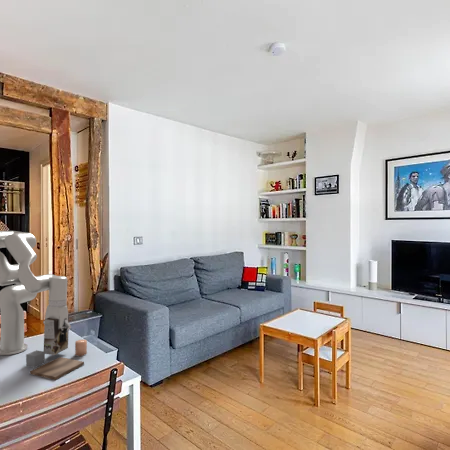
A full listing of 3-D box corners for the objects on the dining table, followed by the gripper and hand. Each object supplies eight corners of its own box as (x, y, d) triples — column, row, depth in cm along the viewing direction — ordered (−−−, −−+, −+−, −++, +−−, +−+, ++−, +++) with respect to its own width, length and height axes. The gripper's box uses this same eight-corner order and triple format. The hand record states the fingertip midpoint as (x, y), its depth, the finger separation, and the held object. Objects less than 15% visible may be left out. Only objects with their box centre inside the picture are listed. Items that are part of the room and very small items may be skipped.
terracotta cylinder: (72, 355, 151) (72, 342, 151) (80, 351, 156) (81, 338, 156) (81, 356, 150) (81, 343, 150) (89, 352, 154) (89, 340, 154)
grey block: (26, 365, 140) (26, 354, 140) (36, 361, 144) (36, 350, 144) (34, 367, 138) (34, 356, 138) (44, 363, 143) (44, 351, 143)
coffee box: (55, 355, 145) (56, 320, 145) (42, 353, 146) (43, 318, 146) (68, 347, 154) (69, 314, 154) (57, 346, 155) (58, 313, 155)
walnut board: (29, 374, 132) (29, 371, 132) (59, 359, 146) (59, 356, 146) (55, 380, 127) (55, 377, 127) (83, 364, 141) (83, 361, 141)
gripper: (36, 302, 149) (35, 340, 149) (65, 307, 143) (64, 346, 144) (50, 298, 156) (49, 335, 157) (78, 303, 150) (77, 340, 151)
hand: (56, 340), depth 150 cm, fingers closed on coffee box, 7 cm apart
